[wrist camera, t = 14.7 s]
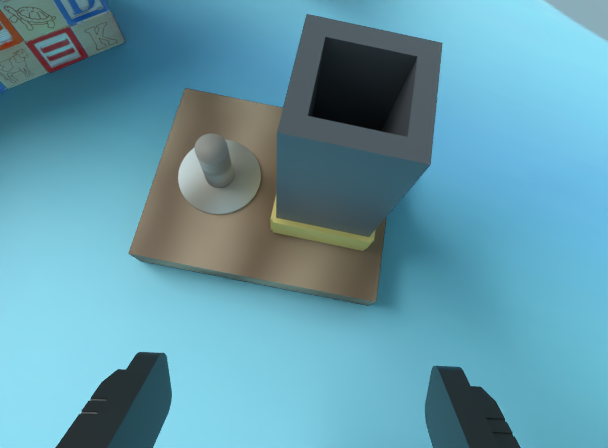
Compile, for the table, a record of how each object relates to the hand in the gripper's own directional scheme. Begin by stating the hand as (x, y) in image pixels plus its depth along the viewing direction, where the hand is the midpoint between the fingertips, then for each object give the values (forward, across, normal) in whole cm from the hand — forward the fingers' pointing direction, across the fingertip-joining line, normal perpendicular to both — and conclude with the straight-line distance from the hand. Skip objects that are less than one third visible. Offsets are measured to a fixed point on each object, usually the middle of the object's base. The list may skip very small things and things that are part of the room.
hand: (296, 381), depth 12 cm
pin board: (+16, +2, 0) cm, 16 cm away
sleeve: (+14, -1, -1) cm, 14 cm away
